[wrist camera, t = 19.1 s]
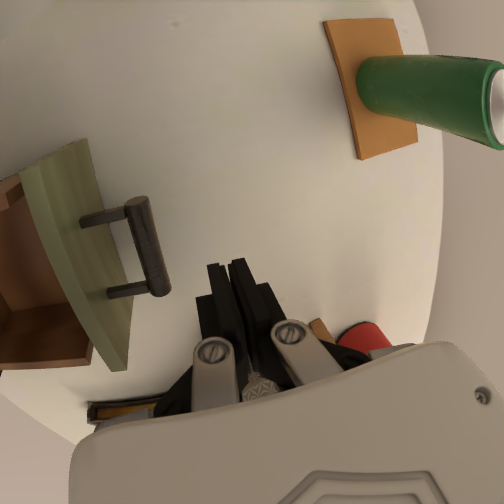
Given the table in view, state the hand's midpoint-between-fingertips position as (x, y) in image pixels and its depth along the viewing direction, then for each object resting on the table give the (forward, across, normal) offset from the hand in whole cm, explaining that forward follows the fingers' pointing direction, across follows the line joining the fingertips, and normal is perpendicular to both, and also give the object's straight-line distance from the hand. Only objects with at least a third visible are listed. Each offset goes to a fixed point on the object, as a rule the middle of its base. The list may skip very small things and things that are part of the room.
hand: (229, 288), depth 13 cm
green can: (+10, -15, -9) cm, 20 cm away
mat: (+10, -15, -9) cm, 20 cm away
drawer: (+9, +12, 0) cm, 15 cm away
